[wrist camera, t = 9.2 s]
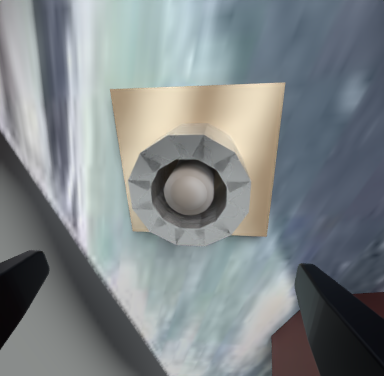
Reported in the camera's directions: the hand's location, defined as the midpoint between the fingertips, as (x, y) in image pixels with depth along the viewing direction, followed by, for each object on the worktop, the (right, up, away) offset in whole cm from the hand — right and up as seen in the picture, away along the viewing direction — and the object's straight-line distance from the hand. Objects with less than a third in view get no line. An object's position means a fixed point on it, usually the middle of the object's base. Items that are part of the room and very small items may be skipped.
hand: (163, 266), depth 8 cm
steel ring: (+1, +4, +10) cm, 11 cm away
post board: (+1, +5, +11) cm, 12 cm away
